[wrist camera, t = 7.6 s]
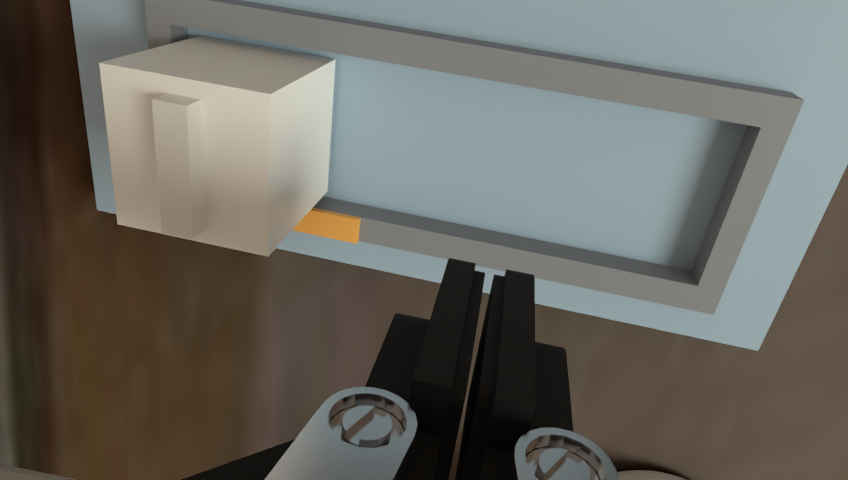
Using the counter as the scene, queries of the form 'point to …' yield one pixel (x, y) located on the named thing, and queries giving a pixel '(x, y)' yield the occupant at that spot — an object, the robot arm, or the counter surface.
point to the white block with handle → (218, 140)
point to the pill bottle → (646, 475)
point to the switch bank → (551, 140)
